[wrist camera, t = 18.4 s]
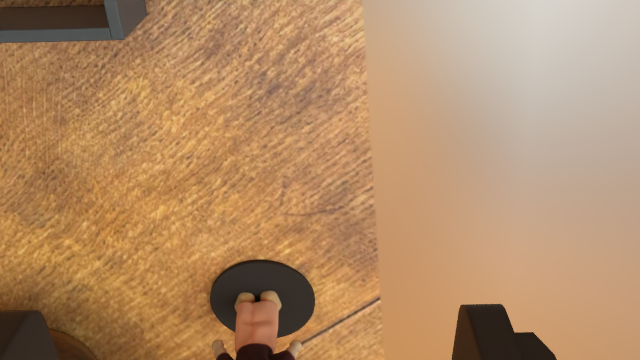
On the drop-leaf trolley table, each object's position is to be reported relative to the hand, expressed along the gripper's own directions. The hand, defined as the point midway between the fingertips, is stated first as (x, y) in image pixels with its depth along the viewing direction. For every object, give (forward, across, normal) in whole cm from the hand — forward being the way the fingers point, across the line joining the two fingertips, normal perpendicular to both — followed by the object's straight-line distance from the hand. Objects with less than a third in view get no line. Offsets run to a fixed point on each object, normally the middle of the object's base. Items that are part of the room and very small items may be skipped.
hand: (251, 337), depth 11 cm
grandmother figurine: (+32, +5, +30) cm, 44 cm away
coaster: (+32, +5, +30) cm, 44 cm away
